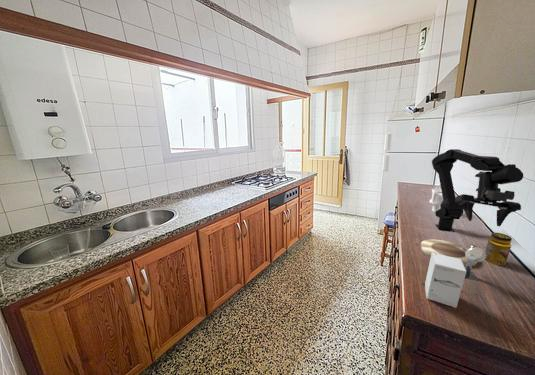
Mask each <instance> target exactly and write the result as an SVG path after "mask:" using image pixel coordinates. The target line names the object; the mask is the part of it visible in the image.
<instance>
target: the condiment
mask: <svg viewBox="0 0 535 375" xmlns="http://www.w3.org/2000/svg"><path fill="white" fill-rule="evenodd" d="M512 240H513V239H512V236H510V235H508V234H504V233H502V232H493V233H491V235H490V238H489V239H488V241H487V244H486V247H485V251H484V252H485V253H486V258H485V260H484V261H486V262H487V263H489V264H492V265H495V266H501V267H502V266H503V267H504V266H505V265H506V264H507V260H508V257H509V255H510V251H511V248H512V244H511V243H512Z"/></svg>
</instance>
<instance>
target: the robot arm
mask: <svg viewBox="0 0 535 375" xmlns="http://www.w3.org/2000/svg"><path fill="white" fill-rule="evenodd" d="M457 161H460V162H463V163H466V164H469V165H470V167H471V168H473V169H474V170H476V171H479V172H478V173H476V174H475V175H474V177H475V178H478V187H477V188H476V189H475V192H477V196H476V197H475V196H474V195H472V194H465V193H463V194H459V195H457V196H456V192H455V188H454V183H453V177H452V174H451V171H452V169H453V167H454V164H455V163H457ZM431 165H432V168H433V170H434V171H435V172H436V173H437V174H438V178H439V185H440V189H441V192H442V196H443V201H442V203H441V205H439V207H440V208H439V209H438V210H437V211H436V212H434V213H435V214H434V215H435V216H436V218H439V219H438V223H437V224H436V223H435V227H436V228H437V229H438V231H446V232H453V233H454V232H455V229H454V228H453V226H454V221H455V220H460V218H461V216H463V214H465V216H466V218H467V220H468V221H469V222H471V221H472V219H473V208H474V205H475V204H478V205H483V206H490V207H495V208H496V207H497V208H498V210H496V226H497V227H501V226H502V224H503V223H504V221H505V220H506V218H507V217H508V216H509V215H510V214H511V213H515V212H517V211H521V210H522V205H521V203H520V202H514V201H513V200H514V198H515V191H512V190H505V191H504V192H503V191H501V190H502V189H501V188H499V185H506V184H513V183H518V182H520V181H522V180H523V178H524V173H523V172H522V170H521V169H520V168H519V167H517V165H516V163H515V164H511V163H509V164H506V165H505V164H504V163H503V162H502V161H501V160H500V158H499V157H498V156H492V155H491V156H490V155H478V154H475V153H471V152H468V151H463V150H461V149H460V148H459V149H456V148H455V149H448V150H446V151H445V152H442V153H440V154H438V155H436V156H435V157H434V158H433V159H432V160H431Z"/></svg>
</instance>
